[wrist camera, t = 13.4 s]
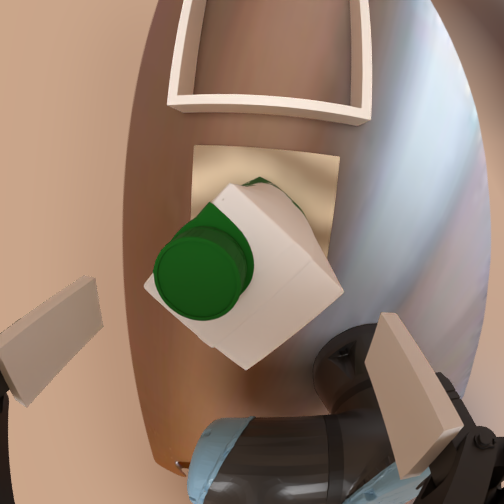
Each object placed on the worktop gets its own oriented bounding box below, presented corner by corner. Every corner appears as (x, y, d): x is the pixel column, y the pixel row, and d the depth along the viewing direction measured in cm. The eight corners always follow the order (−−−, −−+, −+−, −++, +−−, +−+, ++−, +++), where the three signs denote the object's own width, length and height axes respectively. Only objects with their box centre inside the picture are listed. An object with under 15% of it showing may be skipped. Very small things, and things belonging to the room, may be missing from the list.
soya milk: (259, 164, 29) (220, 163, 10) (319, 221, 30) (374, 313, 11) (206, 221, 32) (111, 304, 13) (264, 274, 33) (243, 407, 14)
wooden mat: (319, 289, 34) (320, 292, 33) (192, 275, 35) (190, 278, 34) (338, 157, 29) (339, 157, 28) (196, 145, 30) (194, 145, 29)
